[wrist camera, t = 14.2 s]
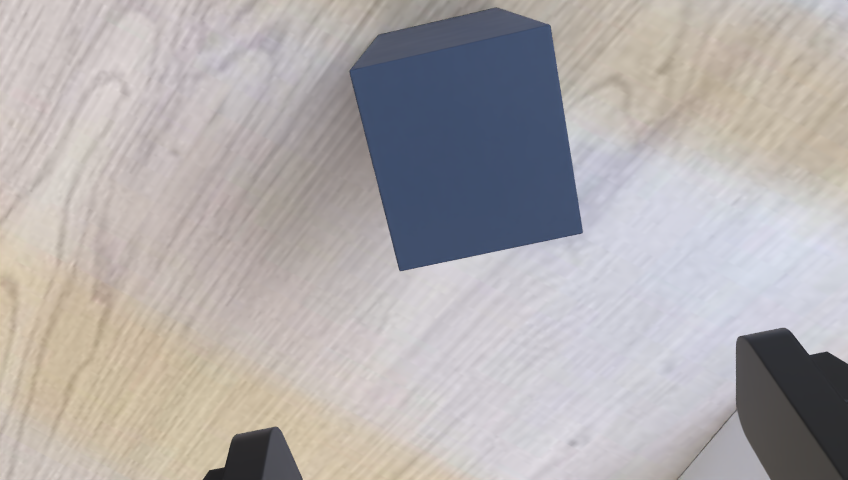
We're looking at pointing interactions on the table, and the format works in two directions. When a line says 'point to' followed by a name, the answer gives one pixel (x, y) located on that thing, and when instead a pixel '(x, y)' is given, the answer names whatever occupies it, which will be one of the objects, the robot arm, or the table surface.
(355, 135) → the table surface
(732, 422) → the block
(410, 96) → the rectangular box
